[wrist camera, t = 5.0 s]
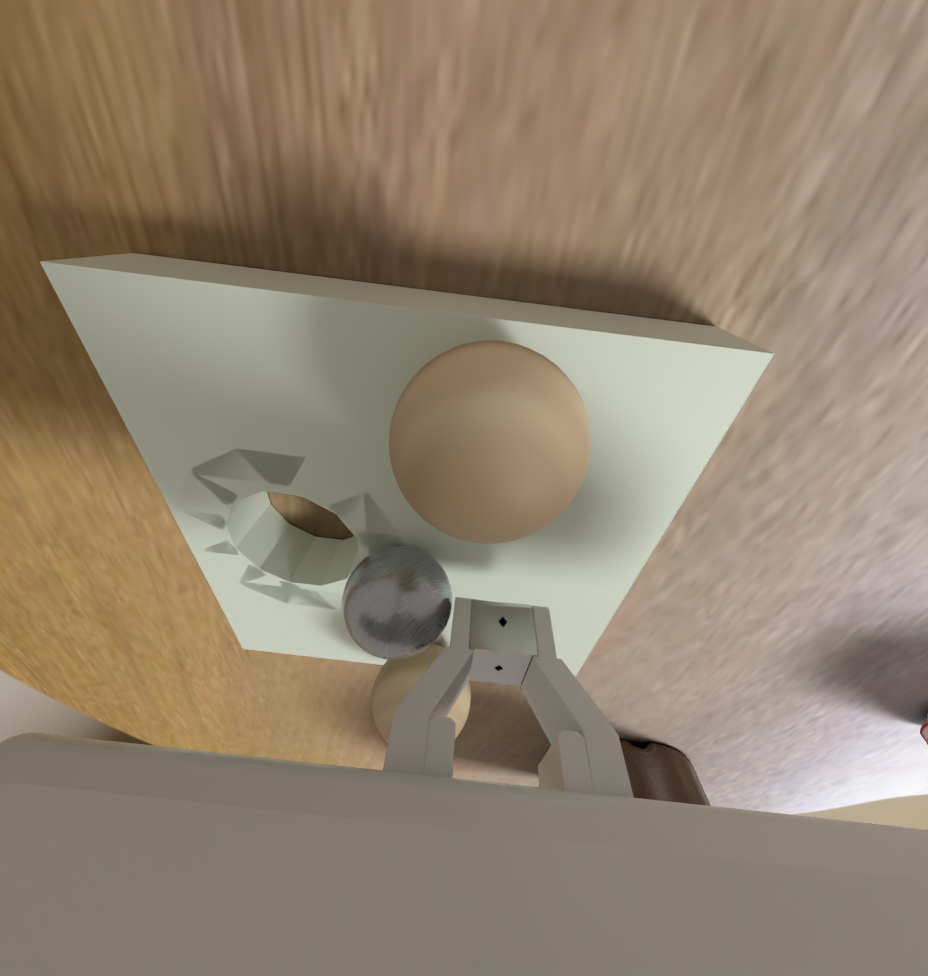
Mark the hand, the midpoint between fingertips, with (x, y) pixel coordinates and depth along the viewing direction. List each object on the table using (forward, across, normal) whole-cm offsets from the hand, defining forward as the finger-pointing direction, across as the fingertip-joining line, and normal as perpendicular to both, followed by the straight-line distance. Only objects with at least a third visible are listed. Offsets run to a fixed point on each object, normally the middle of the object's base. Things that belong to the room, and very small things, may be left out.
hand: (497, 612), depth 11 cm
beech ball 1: (0, +2, +6) cm, 6 cm away
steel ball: (0, +3, 0) cm, 3 cm away
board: (+4, +3, 0) cm, 5 cm away
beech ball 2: (0, +1, -6) cm, 6 cm away
